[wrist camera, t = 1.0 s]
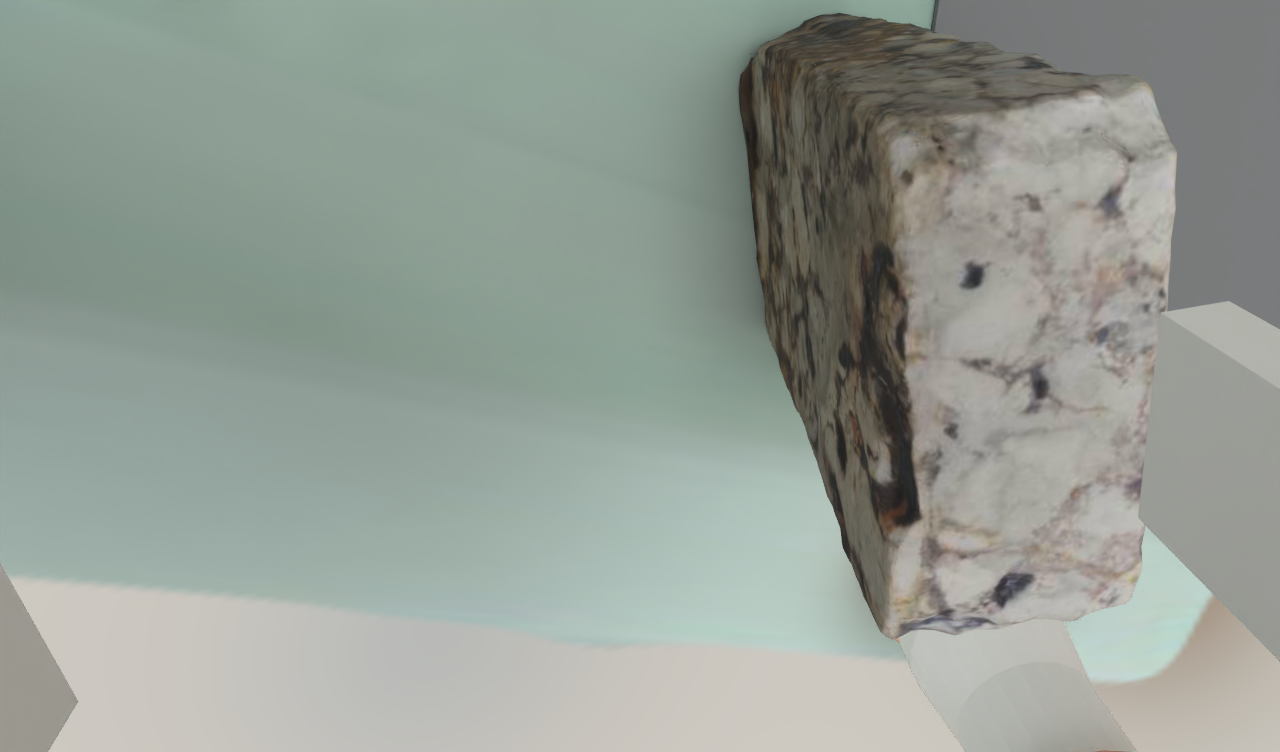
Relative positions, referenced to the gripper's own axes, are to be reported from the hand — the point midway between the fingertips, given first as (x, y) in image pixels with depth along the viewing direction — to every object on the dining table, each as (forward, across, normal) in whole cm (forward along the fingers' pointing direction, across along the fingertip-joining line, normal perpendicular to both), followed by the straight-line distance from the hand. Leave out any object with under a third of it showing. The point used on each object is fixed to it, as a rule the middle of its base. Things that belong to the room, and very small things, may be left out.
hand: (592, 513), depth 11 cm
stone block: (+28, +9, -5) cm, 30 cm away
